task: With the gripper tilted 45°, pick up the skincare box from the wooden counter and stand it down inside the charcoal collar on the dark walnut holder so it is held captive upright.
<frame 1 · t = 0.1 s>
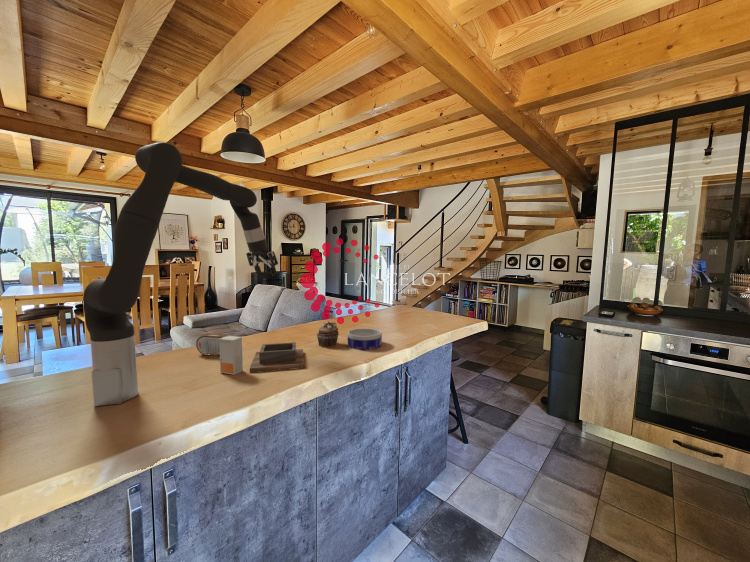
hand: (266, 274, 134), 31 cm above the kitchen island, tool tilted 20°, fingers open, 8 cm apart
tin: (215, 355, 123), on the kitchen island
dog bowl: (364, 345, 138), on the kitchen island
skincare box: (231, 372, 105), on the kitchen island
cupcake: (327, 345, 138), on the kitchen island
bottle holder: (278, 361, 115), on the kitchen island
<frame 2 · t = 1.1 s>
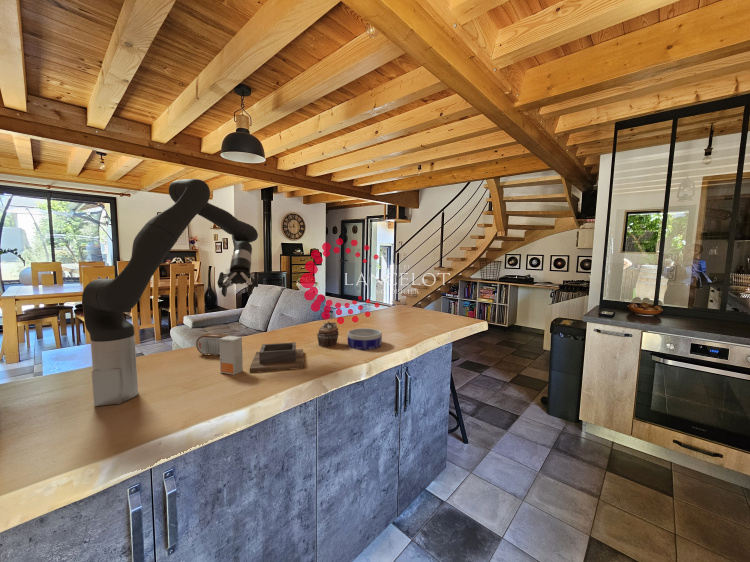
hand: (236, 295, 115), 25 cm above the kitchen island, tool tilted 45°, fingers open, 8 cm apart
nothing on the kitchen island moved.
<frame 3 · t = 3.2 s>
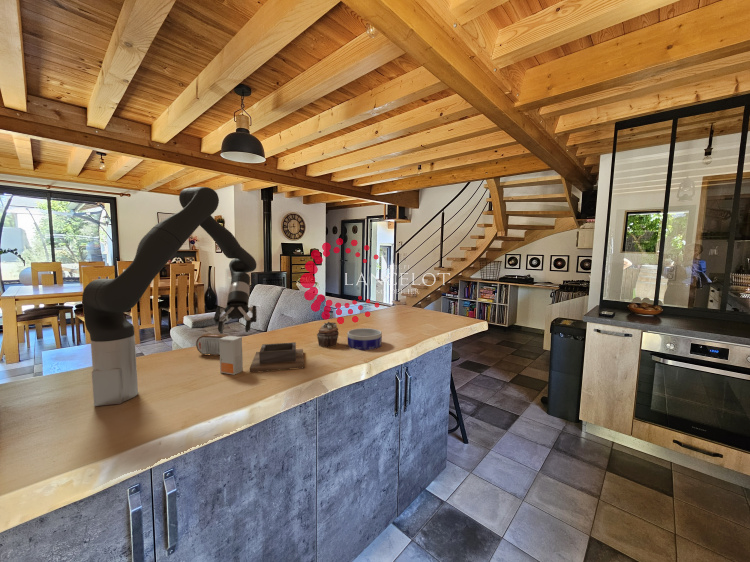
hand: (234, 331, 110), 12 cm above the kitchen island, tool tilted 45°, fingers open, 8 cm apart
nothing on the kitchen island moved.
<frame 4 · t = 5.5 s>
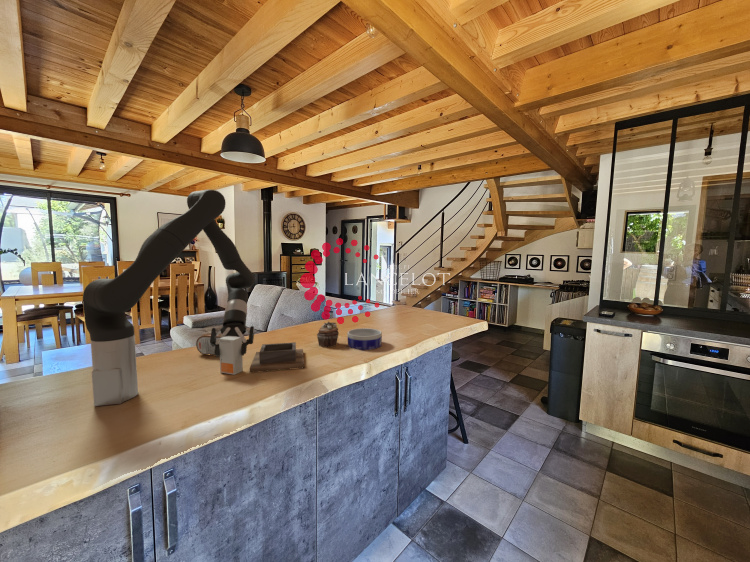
hand: (230, 355, 103), 6 cm above the kitchen island, tool tilted 45°, fingers closed on skincare box, 7 cm apart
skincare box: (231, 372, 105), on the kitchen island, touching gripper
everything else where it was.
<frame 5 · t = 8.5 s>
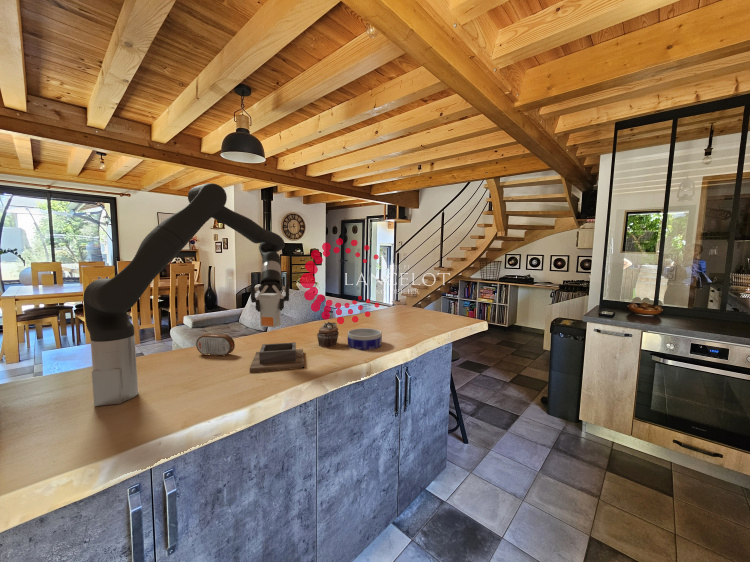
hand: (269, 309, 111), 20 cm above the kitchen island, tool tilted 45°, fingers closed on skincare box, 7 cm apart
skincare box: (270, 326, 113), point 14 cm above the kitchen island, touching gripper
everything else where it was.
when the fingers open (9 cm above the kitchen island, at t = 11.4 s): skincare box drops 1 cm, resting on bottle holder.
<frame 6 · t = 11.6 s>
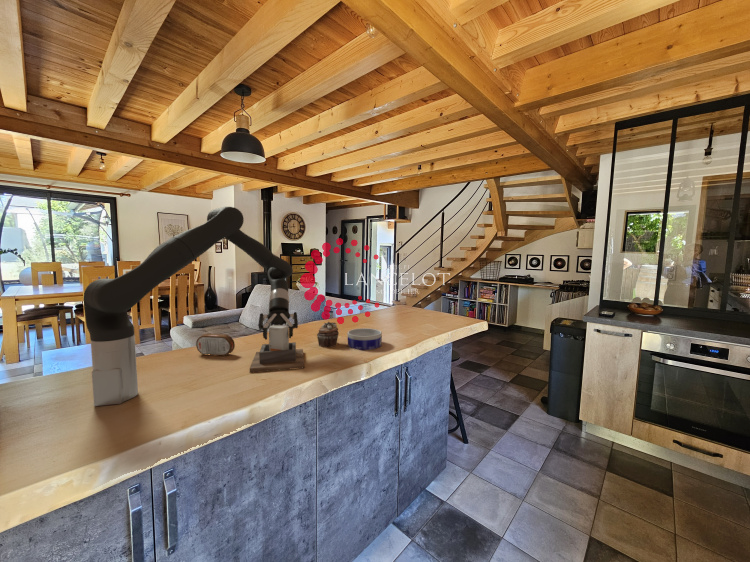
hand: (278, 337, 113), 9 cm above the kitchen island, tool tilted 45°, fingers open, 8 cm apart
skincare box: (279, 357, 116), point 1 cm above the kitchen island, touching bottle holder
everything else where it was.
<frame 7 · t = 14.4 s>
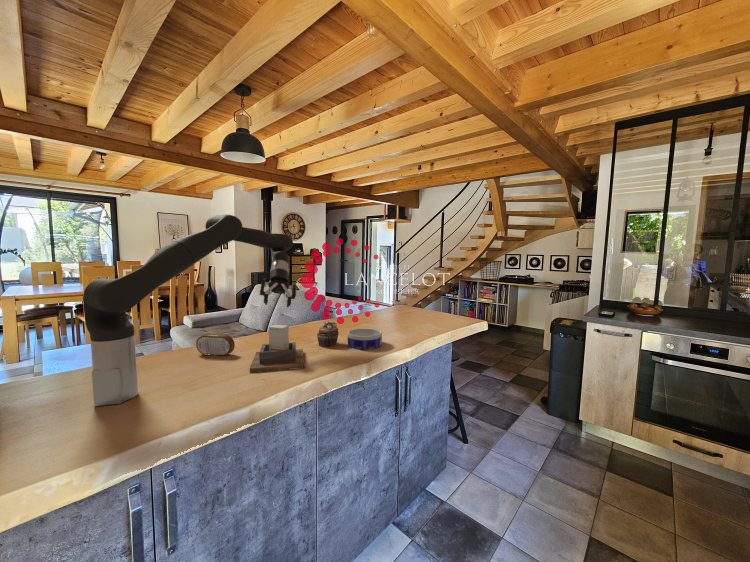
hand: (277, 305, 125), 20 cm above the kitchen island, tool tilted 40°, fingers open, 8 cm apart
nothing on the kitchen island moved.
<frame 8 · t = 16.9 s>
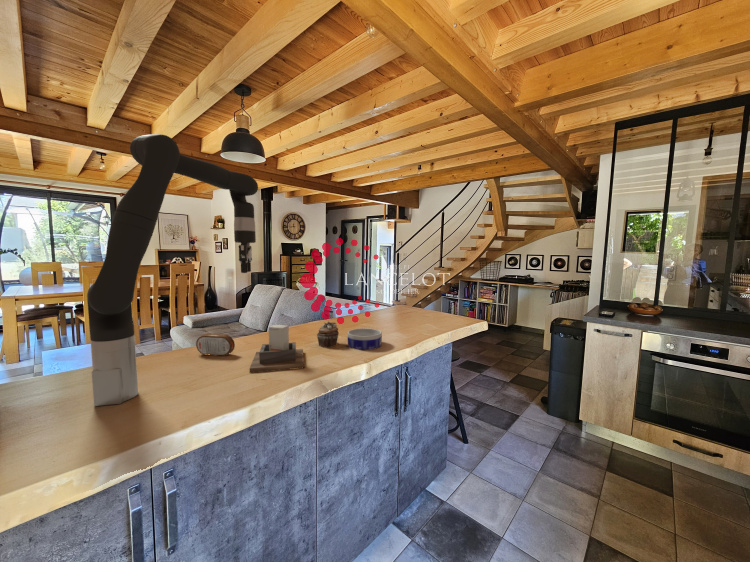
hand: (246, 272, 119), 33 cm above the kitchen island, tool pointing down, fingers open, 8 cm apart
nothing on the kitchen island moved.
at the end: skincare box 0.3 cm off-centre on the bottle holder, point 1.3 cm above the bottle holder's base; skincare box tilted 0°; the gripper is holding nothing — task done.
